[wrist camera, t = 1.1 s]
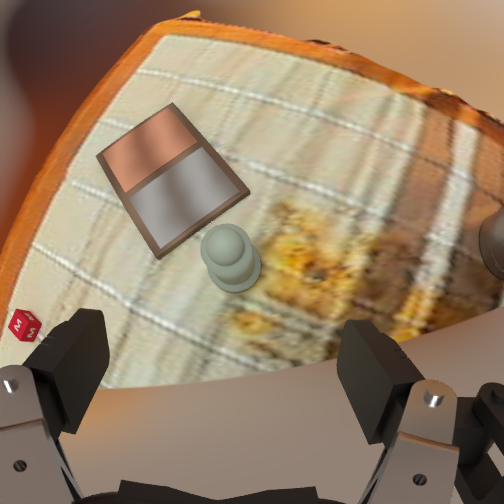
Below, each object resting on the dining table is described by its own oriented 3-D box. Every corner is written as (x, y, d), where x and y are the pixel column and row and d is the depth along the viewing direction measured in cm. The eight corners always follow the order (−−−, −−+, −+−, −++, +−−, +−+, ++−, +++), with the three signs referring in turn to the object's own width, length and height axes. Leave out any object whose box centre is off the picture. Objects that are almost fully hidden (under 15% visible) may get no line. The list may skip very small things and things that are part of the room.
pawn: (240, 233, 37) (230, 195, 27) (271, 272, 35) (271, 247, 26) (200, 262, 36) (175, 235, 26) (229, 303, 35) (214, 290, 25)
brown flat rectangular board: (174, 106, 42) (172, 101, 41) (249, 193, 38) (249, 189, 37) (98, 159, 40) (95, 155, 39) (158, 259, 36) (155, 257, 35)
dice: (29, 311, 36) (15, 308, 33) (42, 324, 35) (28, 322, 32) (21, 328, 35) (7, 327, 32) (34, 342, 35) (20, 341, 32)
